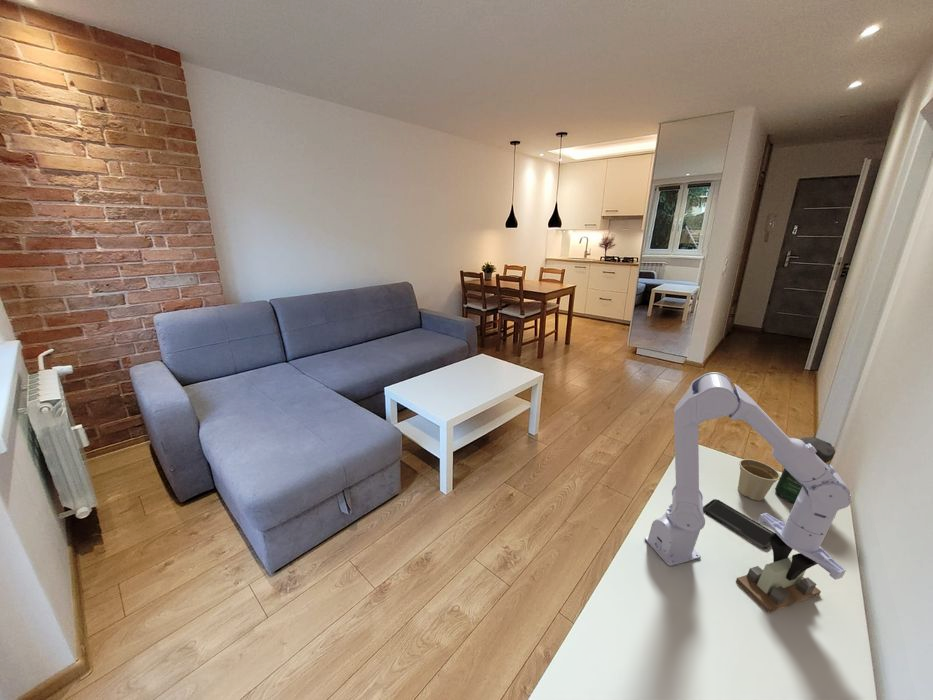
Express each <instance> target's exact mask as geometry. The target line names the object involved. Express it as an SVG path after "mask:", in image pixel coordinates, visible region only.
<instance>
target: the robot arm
mask: <svg viewBox="0 0 933 700" xmlns="http://www.w3.org/2000/svg"><path fill="white" fill-rule="evenodd" d="M732 383H733V382H732V381H731V379H730V378H729V377H728V376H727V375H725V374H723V373H721V372H717V371H715V372H713V371H712V372H707V373H705V374H702V375H701V376H699V377H697V378H696V379H694V380H692V381H691V384H690V386H689V387H688V389H687V390H686V392H685V393H684V394H683V396H682V397H681V398H680V399H679V401H678V402H676V405H675V406H674V408H673V429H674V430H673V431H674V432H673V433H674V464H675V467H674V468H675V485H674V486H673V488H672V490H671V497H672V503H671V504H670V505H668V507H667V508H666V511H665V513H664V514H663V515H662V516H661V517H659V518H657V519H655V520H653V521H652V524H651V526H650V529H649V534H648V535H647V536H644V540H645V541H646V542H647V544H649V546H650V547H651V548H652V549H653V550H654V551H655V552H656V554H658V556H659V557H660V558H661V559H662V560H663V561H664V562H665V564H666V565H667V566H669V567H672V566H676V565H680V564H683V563H686V562H687V563H688V562H690V561H694V560H697V559H701V557H702V555H701V554H700V553H699V552H698V551H697V550H696V549H695V547H696V544H697V541H698V537H699V535H700V532H701V530H702V529H704V527H705V525H706V518H705V515H704V512H703V507H704V505H703V499H704V496H703V493H702V492H701V490H700V488H699V487H700V474H699V473H700V468H699V467H700V465H699V464H700V463H699V461H700V460H699V459H700V457H699V456H700V455H699V451H700V450H699V425H700V424H702V423H704V422H706V421H710V420H715V419H720V418H724V417H727V416H728V418H729V420H732V421H744V422H746V423H747V425H748V426H749V427H751V428H752V429H753V430H754V431H755V432H756V433H757V434H759V436H760V437H762V438H763V439H764V440H765V441H766V442H767V443H768V444H769V445H771V447H772V450H771V456H772V457H773V458H774V459H775V460H776V461H777V462H778V464H780V465H781V466H782V467H783V469H784V468H785V469H786V470H787V471H788V472H789V473H790V474H791V475H792V476H793V477H794V478H795V479H796V480H797V481H798V482H799V483H801V484H803V485H804V486H802V488H801V490H800V493H799V495H798V497H797V499H796V501H795V503H793V505H792V506H793V507H791V510H790V512H789V515H788V516H787V519H786V521H785V522H784V521H781V520H780V519H777V518H776V517H774V516H772V515H771V514H769V513H768V512H763V513H761V514H759V517H758V520H757V522H758V523H759V524H760V525H766V527H768V529H769V528H770V529H771V531H772V532H774V533H775V534H774V536H771V537H770V539H769V541H770V543H771V546H770V547H771V548H772V549H771V550H772V555H773V562H776V561H779V560H782V559H785V558H789V557H790V554H791V553H792V551H793V550H794V551H796V552H798V553H796V554H793V555H792V556H791V557H792V563H791V567H790V569H789V571H788V573H787V576H786V578H787V579H788V580H789V581H791V580H794V579H796V578H797V577H798V576H799V575H800V574H801V573H802V572H803V571H805V570H806V571H807V570H808V569H809V568H810V569H811V568H812V567H814V566H817V565H818V566H820V568H823V569H824V570H825V571H826V572H828V574H829V577H831V578H832V579H834V580H839V579H842V578H843V577H844V576H845V573H846V572H847V570H846V569H845V568H844V567H843V566H841V565H840V564H839V563H838V562H837V561H836V560H835V559H833V557H832V556H831V555H829V553H828V552H827V551H825V549H823V547H822V546H821V545H822V543H823V542H824V539H825V537H826V536H827V533H828V531H829V529H830V527H831V526H832V523H833V521H834V519H835V517H836V515H837V513H838V511H840V510H842V509H845V508H848V507H849V506H850V505H851V504H852V503H853V501H852V500H851V497H852V496H851V491H850V488H848V486H847V485H846V483H845V482H844V480H843V479H842V478H841V476H840V474H839V473H838V472H837V471H836V469H835V468H834V467H833V466H832V465H831V464H830V465H826V464H825V463H824V462H823V461H822V460H821V459H820V458H819V457H818V456H817V455H816V454H815V453H816V452H817V451H816V449H815V448H814V447H813V446H812V445H811V444H810V443H809V444H805V443H804V442H803V441H802V440H800V439H801V438H796V437H789V436H788V435H787V433H785V432H784V431H783V430H782V428H780V427H779V425H778V424H776V422H774V420H773V419H772V418H771V417H770V416H769V415H768V414H767V413H766V412H765V411H764V410H763V408H761V406H760V405H758V403H757V402H756V401H755V400H754V399H753V398H752V397H751V396H750V395H749V394H748V393H747V392H746V391H744V390H743V389H742V388H741V387H740V386H739V385H738V384H736V383H733V384H732ZM733 385H734V388H733ZM773 562H772V563H773ZM806 571H805V572H806Z"/></svg>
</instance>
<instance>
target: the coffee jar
mask: <svg viewBox="0 0 933 700" xmlns="http://www.w3.org/2000/svg"><path fill="white" fill-rule="evenodd" d="M799 439H800V440H802V441H803V442H804V443H805V444H809V443H810V444H811V445H812V446H813V447H814V448H815V449H816V451H817V452H816V453H815V454H816V455H817V456H818V457H819V458H820V459H821V460H822V461H823V462H824V463H825V464H826V465H831V463H832V460H833V458H834V456H835V454H836V449H835V447H834V446H833V445H832V443H830V442H827V441H826V440H823V439H820V438H818V437H815V436H812V437H811V436H809V437H808V436H807V437H802V438H799ZM802 486H804V485H803V484H801V483H799V482H798V481H797V480H796V479H795V478H794V477H793V476H792V475H791V474H790V473H789V472H788V471H787V470H786V469H785V468H784V467H783V469H782V473H781V474H780V479H779V480H777V483H776V486H775V488H774V490H775V493H776V494H778V495H779V496H780V497H781V498H783V499H784V500H786V501H788V502H790V503H793V504H794V503H795V501H796V499H797V497H798V495H799V493H800V490H801V488H802Z"/></svg>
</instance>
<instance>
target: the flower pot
mask: <svg viewBox="0 0 933 700" xmlns="http://www.w3.org/2000/svg"><path fill="white" fill-rule="evenodd" d="M738 463H739V469H740V470H739V471H740V472H739V478H738V484H737V490H738V492H739V493H740V494H741V495H742V496H745V497H748V498H749V499H750V500H753V501H762V500H764V499H765V497H766V496H767V494H768V492H769V491H770V489H771V488H772V486H773V485H774V484H775V483H776V482H778V481H779V479H780V477H781V474H780V472H778V470H776V469H775V468H774V467H772V466H771V465H769V464H766V463H764V462H762V461H759V460H755V459H751V458H745V459H744V458H743V459H741V460H740V461H739V462H738Z"/></svg>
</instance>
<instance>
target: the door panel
mask: <svg viewBox="0 0 933 700" xmlns="http://www.w3.org/2000/svg"><path fill="white" fill-rule="evenodd" d="M791 563H792V556H788V558H785V559H782V560H779V561H776V562H770V563H766V564H765V565H764V568H763V569H762V570H763V572H762V574H761V577H760V579H759V581H758V584H757V586H758V587H759V588H760V589H761V590H762V591H764V592H765V593H766V594H768V593H771V592H772V590H773V589H774V588H777V587H780V586H782V587H783V588H786V587H788V586H791V585H794V584H797V583H799V581H800V580H801V579H802V577H804V574H806V571H807V569H806V570H805V571H803V572H802V573H801V574H800V575H799V576H798V577H797V578H796V579H794V580H791V581H789V580H788V579H787V578H786V576H787V573H788V571H789V569H790V567H791Z"/></svg>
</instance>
